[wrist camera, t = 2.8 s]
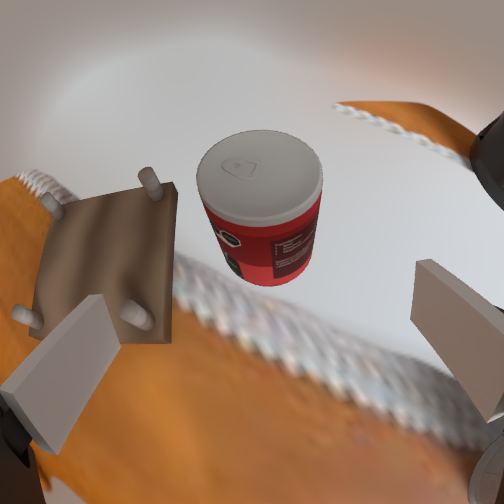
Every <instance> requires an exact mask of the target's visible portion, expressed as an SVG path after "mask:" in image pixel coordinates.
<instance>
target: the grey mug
mask: <svg viewBox="0 0 504 504" xmlns="http://www.w3.org/2000/svg"><path fill="white" fill-rule="evenodd" d="M503 470H504V435H503V436H501V437H499V438H498V439H497V440H495V441H494V442H493V443H492V444H491V445H490V446H489V447H488V448H487V449H486V451H485V452H484V453H483V455H482V456H481V458H480V459H479V461H478V463H477V464H476V466H475V468H474V471H473V473H472V476H471V479H470V482H469V487H468V499H469V503H470V504H495V501H496V497H497V494H498V490H499V487H500V483H501V479H502V474H503Z"/></svg>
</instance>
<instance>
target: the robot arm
mask: <svg viewBox="0 0 504 504" xmlns="http://www.w3.org/2000/svg"><path fill="white" fill-rule="evenodd" d="M470 159H471V164H472V167H473V169H474V172H475V174H476V176H477V178H478V180H479V181H480V183H481V185H482V186H483V188H484V189H485V190H486V192H487V193H488V194H489V196H490V197H491V198H492V199H493V200H494V201H495V203H496V204H497V205H498V206H499V207H500V208H501V209H502V210H504V111H503V113H502V114H501V115H500V116H498V118H496V119H495V120H494V121H493V122H492V123H490V124H489V125H488V126H487V127H486V128H484V129H483V130H482V131H481V132H480V133H479V134H478V135H477V137H476V139H475V141H474V142H473V144H472V146H471V149H470ZM410 320H411V321H412V322H413V323H414V324H415V326H416V327H417V328H418V329H419V331H420V332H421V333H422V334H423V336H424V337H425V338H426V339H427V341H428V342H429V343H430V345H431V346H432V347H433V348H434V350H435V351H436V352H437V354H438V355H439V356H440V358H441V359H442V360H443V362H444V363H445V364H446V366H447V367H448V368H449V370H450V371H451V372H452V374H453V375H454V377H455V378H456V379H457V381H458V382H459V383H460V385H461V386H462V388H463V389H464V390H465V392H466V393H467V395H468V396H469V398H470V399H471V400H472V402H473V403H474V405H475V406H476V408H477V409H478V411H479V412H480V414H481V415H482V417H483V418H484V420H485V421H486V423H489V422H491V421H493V420H495V419H497V418H499V417H501V416H503V415H504V310H503V309H501V308H499V307H496V306H494V305H492V304H491V303H490V302H488V301H487V300H486V299H484V298H483V297H482V296H481V295H480V294H478V293H477V292H475V291H474V290H473V289H471V288H470V287H469V286H468V285H466V284H465V283H464V282H462V281H461V280H460V279H458V278H457V277H456V276H454V275H453V274H451V273H450V272H449V271H447V270H446V269H445V268H443V267H442V266H440V265H439V264H438V263H436V262H435V261H433V260H432V259H427V260H420V261H416V271H415V282H414V293H413V301H412V310H411V317H410ZM120 349H121V345H120V343H119V340H118V337H117V335H116V332H115V329H114V326H113V323H112V321H111V318H110V315H109V312H108V309H107V306H106V303H105V299H104V296H103V294H95V295H88V296H87V297H86V298H85V299H84V300H83V301H82V302H81V303H80V304H79V305H78V306H77V307H76V308H75V309H74V310H73V311H72V312H71V313H70V314H69V315H68V316H67V317H65V318H64V319H63V320H62V321H61V322H60V323H59V324H58V325H57V326H56V327H55V328H54V329H53V330H52V331H51V332H50V333H49V335H48V336H47V337H46V338H45V339H44V340H43V341H42V342H41V343H40V344H39V345H38V346H37V347H36V348H35V349H34V350H33V351H32V352H31V353H30V354H29V355H28V356H27V358H26V359H25V360H24V361H23V362H22V363H21V364H20V365H19V366H18V367H17V368H16V370H15V371H14V372H13V373H12V374H11V375H10V376H9V377H8V378H7V380H6V381H5V382H4V383H3V384H2V385H1V386H0V504H46V503H45V499H44V495H43V491H42V487H41V483H40V479H39V475H38V470H37V465H36V460H35V455H34V451H33V449H32V447H31V446H30V445H29V444H30V442H31V441H32V439H33V440H34V442H35V443H36V444H37V445H38V446H39V448H40V449H41V450H42V451H45V452H48V453H51V454H54V455H58V454H59V452H60V450H61V448H62V446H63V444H64V443H65V441H66V439H67V437H68V435H69V434H70V432H71V430H72V428H73V426H74V425H75V423H76V421H77V419H78V418H79V416H80V414H81V413H82V411H83V409H84V407H85V406H86V404H87V402H88V401H89V399H90V397H91V396H92V394H93V392H94V391H95V389H96V387H97V386H98V384H99V382H100V381H101V379H102V377H103V376H104V374H105V372H106V371H107V369H108V368H109V366H110V364H111V363H112V361H113V360H114V358H115V356H116V355H117V353H118V352H119V350H120ZM503 432H504V430H503ZM495 504H504V470H503V474H502V479H501V483H500V487H499V490H498V494H497V497H496V501H495Z"/></svg>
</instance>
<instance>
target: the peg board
mask: <svg viewBox="0 0 504 504" xmlns="http://www.w3.org/2000/svg"><path fill="white" fill-rule="evenodd" d="M138 178H139V180H140V182H141V183H142V185H143V187H140V188H135V189H130V190H125V191H120V192H115V193H111V194H106V195H102V196H97V197H92V198H88V199H83V200H79V201H75V202H71V203H67V204H63V205H61V204H60V203H59V202H58V201H57V200H56V199H55V198H54V197H53V196H52V195H51V194H50V192H46V193H44V194H43V195H42V197H41V198H40V203H41V204H42V205H43V206H44V207H45V208H46V209H47V210H48V211H49V212H50V213H51V214H52V215H53V216H52V219H51V223H50V226H49V230H48V233H47V237H46V241H45V245H44V249H43V253H42V258H41V262H40V267H39V271H38V276H37V281H36V287H35V292H34V298H33V305H32V310H30V309H28V308H26V307H24V306H22V305H20V304H16V305H15V306H14V307H13V309H12V318H13V319H14V320H16V321H19V322H21V323H23V324H25V325H28V326H30V327H29V336H30V337H33V338H36V339H38V340H44V339H45V338H46V337H47V336H48V335H49V333H50V332H51V331H52V330H53V329H54V328H55V327H56V326H57V325H58V324H59V323H60V322H61V321H62V320H63V319H64V318H65V317H67V316H68V315H69V314H70V313H71V312H72V311H73V310H74V309H75V308H76V307H77V306H78V305H79V304H80V303H81V302H82V301H83V300H84V299H85V298H86V297H87V296H88V295H95V294H103V296H104V299H105V303H106V306H107V309H108V312H109V315H110V318H111V321H112V323H113V326H114V329H115V332H116V335H117V337H118V340H119V343H120V344H167V343H171V320H172V281H173V258H174V241H175V226H176V213H177V212H176V211H177V201H178V192H177V190H176V188H175V186H174V184H173V182H168V183H162V184H160V182H159V180H158V178H157V176H156V175H155V172H154V171H153V169H152V168H151V167H145V168H143V169H142V170H141V171H140V172H139V173H138Z"/></svg>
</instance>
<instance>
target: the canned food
mask: <svg viewBox="0 0 504 504" xmlns="http://www.w3.org/2000/svg"><path fill="white" fill-rule="evenodd" d="M196 178H197V186H198V191H199V194H200V197H201V200H202V203H203V205H204V208H205V211H206V213H207V216H208V218H209V220H210V223H211V225H212V228H213V230H214V232H215V235H216V237H217V240H218V242H219V244H220V247H221V249H222V252H223V254H224V256H225V259H226V261H227V263H228V265H229V266H230V268H231V269H232V270H233V272H235V273H236V274H237V275H238V276H239V277H241V278H242V279H244V280H245V281H247V282H250V283H252V284H255V285H259V286H271V287H272V286H278V285H282V284H285V283H288V282H289V281H291V280H293V279H295V278H296V277H297V276H298V275H299V274H301V273H302V272H303V271H304V269H305V268H306V267H307V265H308V263H309V261H310V259H311V255H312V249H313V244H314V238H315V231H316V226H317V220H318V214H319V207H320V201H321V194H322V185H323V172H322V165H321V163H320V160H319V158H318V156H317V155H316V153H315V152H314V151H313V149H311V148H310V147H309V146H308V145H307V144H306V143H305V142H303V141H301V140H300V139H298V138H296V137H294V136H291V135H289V134H286V133H282V132H278V131H270V130H253V131H246V132H241V133H238V134H235V135H232V136H230V137H227V138H225V139H223V140H222V141H220V142H218V143H217V144H215V145H214V146H213V147H212V148H211V149H210V150H208V151H207V153H206V154H205V155H204V157H203V158H202V159H201V162H200V164H199V166H198V170H197V174H196Z"/></svg>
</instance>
